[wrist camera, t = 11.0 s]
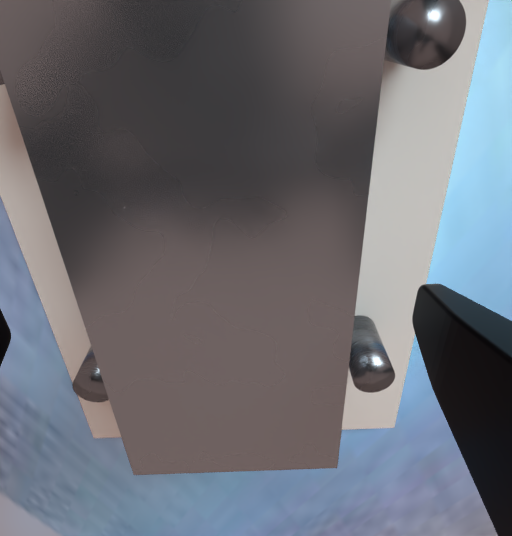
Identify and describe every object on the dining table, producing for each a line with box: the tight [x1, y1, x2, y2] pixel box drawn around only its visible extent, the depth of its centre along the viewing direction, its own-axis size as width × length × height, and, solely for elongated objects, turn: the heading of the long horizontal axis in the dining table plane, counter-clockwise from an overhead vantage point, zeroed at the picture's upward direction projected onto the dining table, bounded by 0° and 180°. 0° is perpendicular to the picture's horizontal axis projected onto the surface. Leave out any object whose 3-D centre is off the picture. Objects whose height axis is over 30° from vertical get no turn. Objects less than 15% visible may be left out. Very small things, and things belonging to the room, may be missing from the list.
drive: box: [0, 0, 391, 475], centre depth 11 cm, size 12×6×5 cm, turn 2°
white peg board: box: [0, 0, 489, 438], centre depth 12 cm, size 22×14×4 cm, turn 2°
